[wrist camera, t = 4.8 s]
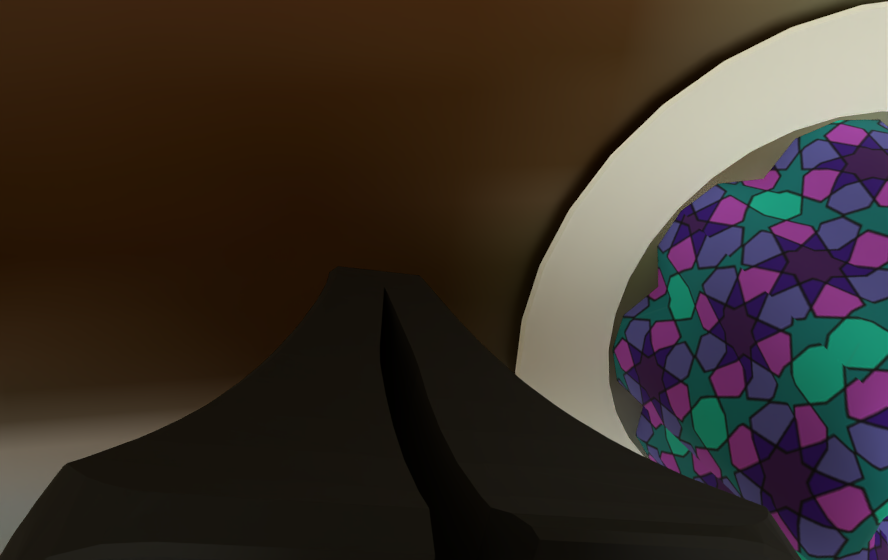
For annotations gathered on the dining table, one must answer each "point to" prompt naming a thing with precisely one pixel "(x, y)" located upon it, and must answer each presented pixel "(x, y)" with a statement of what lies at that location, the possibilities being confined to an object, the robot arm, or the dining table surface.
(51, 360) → the dining table surface
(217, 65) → the dining table surface
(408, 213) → the dining table surface
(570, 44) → the dining table surface
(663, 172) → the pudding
